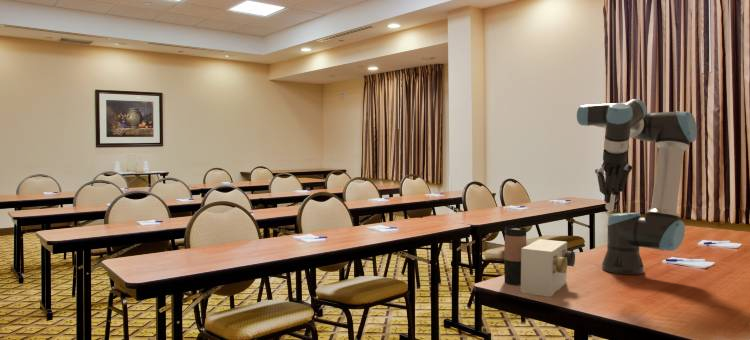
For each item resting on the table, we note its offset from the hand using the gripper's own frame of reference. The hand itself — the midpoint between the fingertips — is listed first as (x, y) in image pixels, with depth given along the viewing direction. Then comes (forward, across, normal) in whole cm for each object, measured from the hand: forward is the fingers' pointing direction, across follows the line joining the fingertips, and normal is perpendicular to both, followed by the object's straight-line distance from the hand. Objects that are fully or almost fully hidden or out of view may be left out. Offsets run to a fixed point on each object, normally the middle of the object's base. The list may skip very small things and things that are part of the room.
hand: (609, 209), depth 190 cm
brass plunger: (+11, -30, -12) cm, 34 cm away
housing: (+21, -29, -9) cm, 37 cm away
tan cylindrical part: (+16, -22, -4) cm, 28 cm away
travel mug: (+22, -37, -2) cm, 43 cm away
